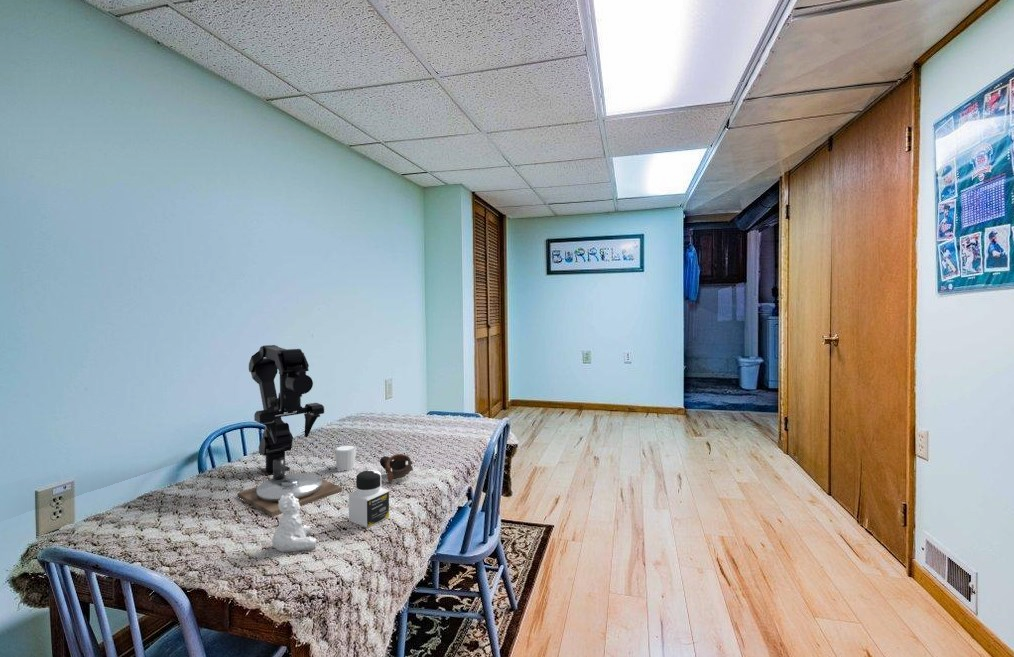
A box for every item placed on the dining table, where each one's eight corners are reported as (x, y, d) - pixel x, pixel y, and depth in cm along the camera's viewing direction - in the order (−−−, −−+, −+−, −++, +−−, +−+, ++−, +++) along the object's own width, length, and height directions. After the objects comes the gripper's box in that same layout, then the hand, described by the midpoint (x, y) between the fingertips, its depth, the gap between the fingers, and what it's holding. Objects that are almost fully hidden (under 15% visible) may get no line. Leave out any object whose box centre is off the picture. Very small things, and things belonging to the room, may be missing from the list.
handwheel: (273, 507, 114) (273, 481, 114) (246, 491, 125) (245, 466, 124) (333, 487, 128) (333, 463, 127) (304, 473, 138) (304, 451, 138)
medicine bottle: (367, 528, 106) (367, 480, 106) (348, 521, 110) (347, 474, 110) (389, 517, 112) (389, 471, 112) (370, 510, 116) (370, 465, 116)
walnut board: (237, 497, 124) (237, 493, 124) (305, 476, 140) (305, 472, 140) (272, 516, 112) (272, 512, 112) (341, 491, 128) (341, 487, 128)
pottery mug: (418, 473, 145) (418, 456, 140) (403, 495, 137) (402, 478, 132) (387, 461, 147) (386, 443, 143) (370, 482, 140) (368, 464, 135)
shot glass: (342, 473, 143) (342, 452, 142) (330, 469, 147) (330, 448, 147) (360, 467, 148) (360, 447, 148) (349, 463, 152) (348, 443, 152)
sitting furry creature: (318, 549, 97) (318, 495, 97) (275, 561, 92) (274, 505, 92) (309, 531, 105) (309, 482, 104) (268, 542, 100) (268, 490, 99)
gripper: (310, 383, 147) (311, 429, 147) (248, 390, 134) (249, 441, 134) (324, 387, 139) (325, 436, 140) (260, 395, 126) (260, 449, 126)
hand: (290, 440), depth 135 cm, fingers open, 9 cm apart
